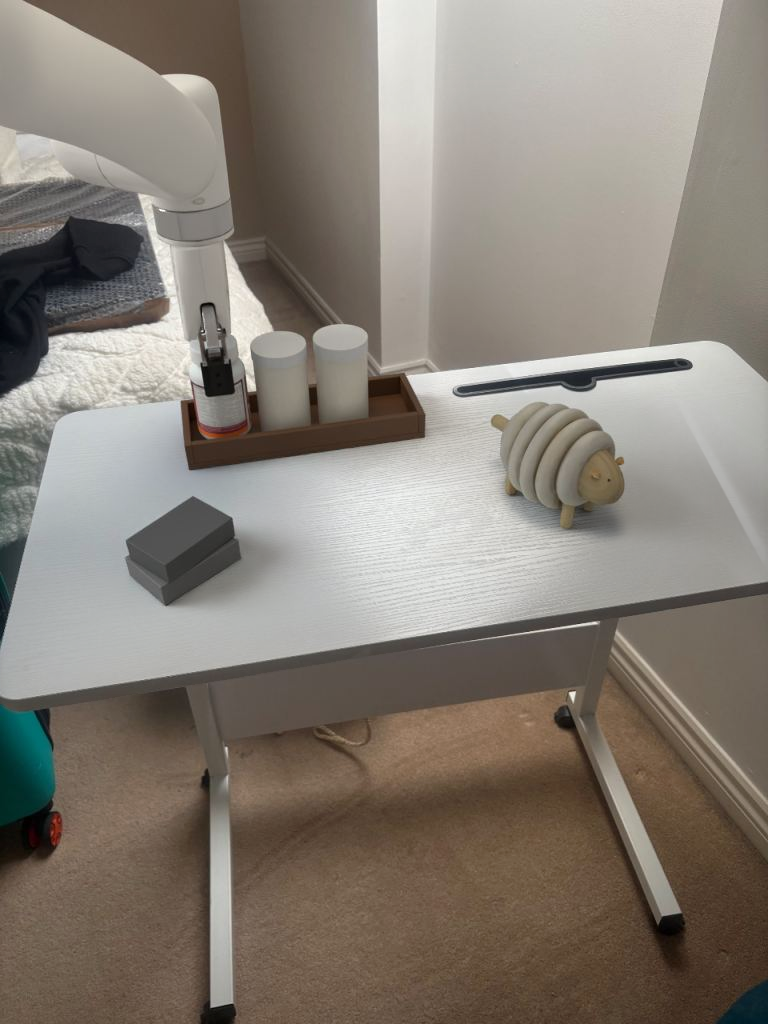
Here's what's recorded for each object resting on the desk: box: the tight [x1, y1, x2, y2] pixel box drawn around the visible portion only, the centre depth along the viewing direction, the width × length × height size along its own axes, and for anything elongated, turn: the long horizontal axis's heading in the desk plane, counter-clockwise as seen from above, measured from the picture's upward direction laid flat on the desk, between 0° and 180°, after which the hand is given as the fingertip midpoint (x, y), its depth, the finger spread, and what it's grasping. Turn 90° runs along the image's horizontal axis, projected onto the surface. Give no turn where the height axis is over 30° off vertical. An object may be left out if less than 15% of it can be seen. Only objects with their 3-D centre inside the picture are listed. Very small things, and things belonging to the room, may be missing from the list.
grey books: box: [124, 495, 242, 606], centre depth 80 cm, size 9×6×5 cm
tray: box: [179, 372, 426, 471], centre depth 99 cm, size 28×10×3 cm, turn 103°
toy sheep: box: [490, 401, 626, 530], centre depth 86 cm, size 11×17×11 cm, turn 46°
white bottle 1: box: [249, 330, 311, 432], centre depth 95 cm, size 6×6×11 cm
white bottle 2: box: [312, 323, 369, 424], centre depth 96 cm, size 6×6×11 cm
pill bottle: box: [188, 332, 251, 439], centre depth 93 cm, size 6×6×11 cm
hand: (217, 377), depth 92 cm, fingers closed on pill bottle, 6 cm apart
